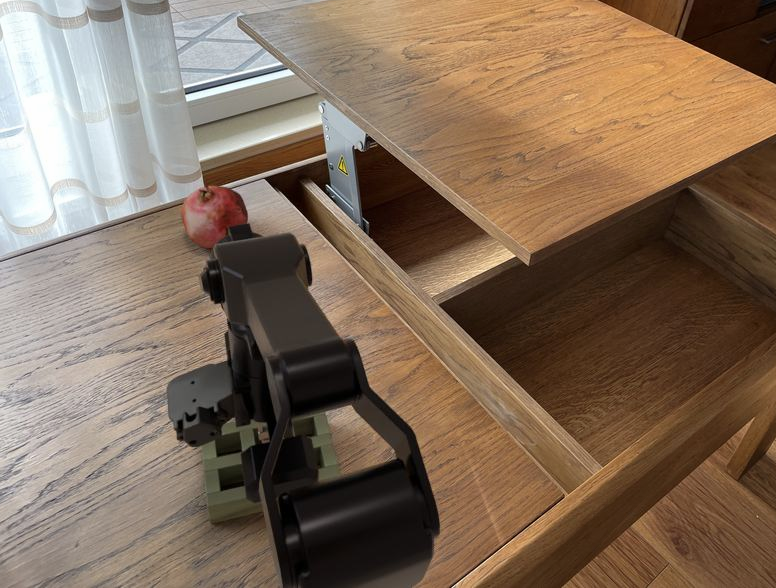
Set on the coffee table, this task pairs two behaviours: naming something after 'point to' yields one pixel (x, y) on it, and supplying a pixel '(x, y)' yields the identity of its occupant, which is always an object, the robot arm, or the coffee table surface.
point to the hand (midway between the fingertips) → (271, 451)
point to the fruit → (212, 214)
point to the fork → (262, 433)
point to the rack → (230, 466)
